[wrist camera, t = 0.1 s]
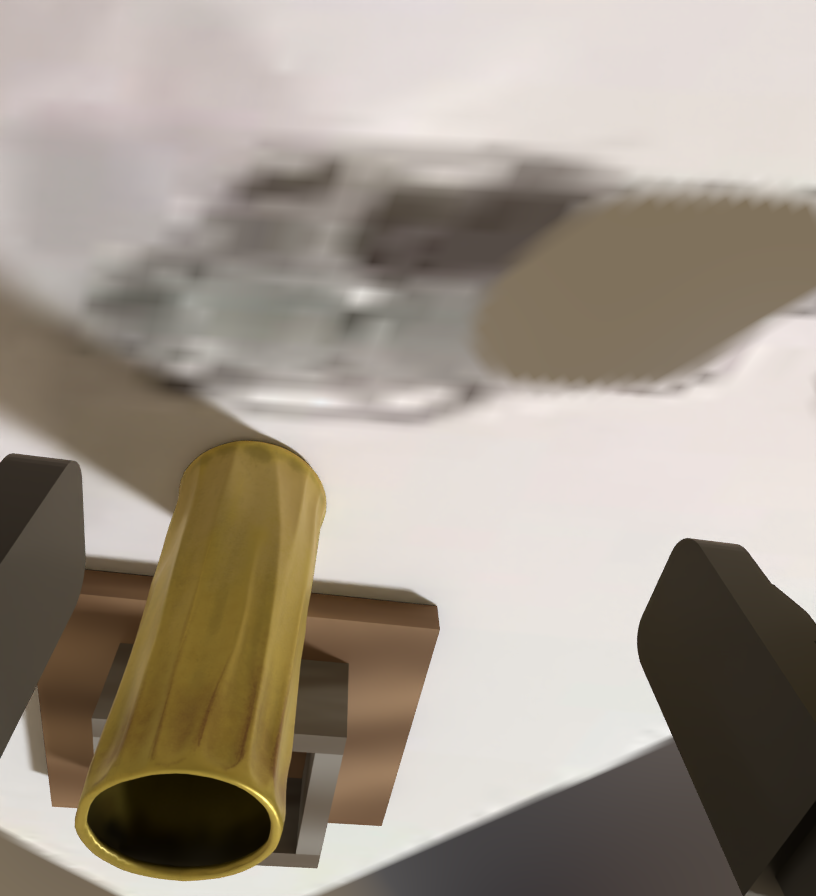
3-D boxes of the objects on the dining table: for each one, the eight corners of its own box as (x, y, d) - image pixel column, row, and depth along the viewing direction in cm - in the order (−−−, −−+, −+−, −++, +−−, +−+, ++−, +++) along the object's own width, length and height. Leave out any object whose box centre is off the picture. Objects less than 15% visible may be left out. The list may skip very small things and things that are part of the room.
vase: (148, 487, 30) (1, 821, 18) (260, 410, 28) (181, 722, 16) (248, 575, 33) (179, 914, 21) (355, 509, 31) (348, 838, 19)
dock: (39, 564, 32) (-17, 662, 27) (436, 605, 34) (448, 702, 30) (61, 780, 40) (22, 884, 35) (381, 801, 43) (382, 900, 38)
